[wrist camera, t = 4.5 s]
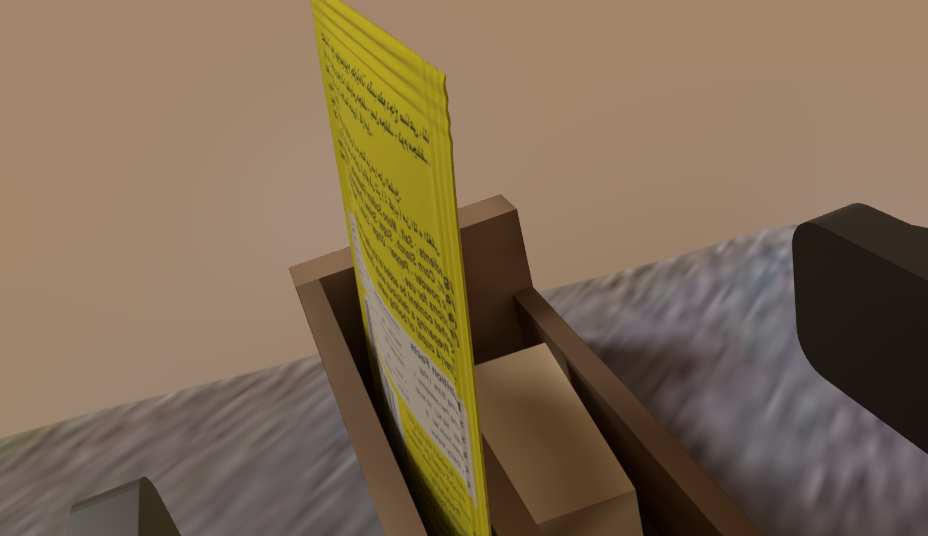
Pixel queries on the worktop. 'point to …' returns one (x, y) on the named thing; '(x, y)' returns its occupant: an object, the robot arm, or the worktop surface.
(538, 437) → the upper pine offcut
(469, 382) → the food package
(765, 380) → the worktop surface
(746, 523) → the walnut rack
